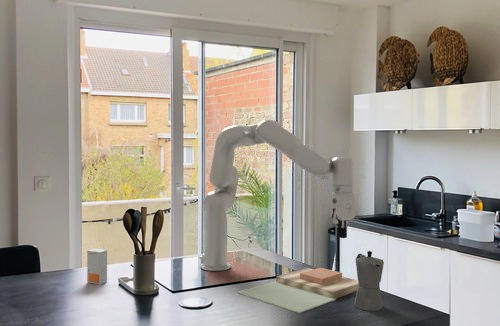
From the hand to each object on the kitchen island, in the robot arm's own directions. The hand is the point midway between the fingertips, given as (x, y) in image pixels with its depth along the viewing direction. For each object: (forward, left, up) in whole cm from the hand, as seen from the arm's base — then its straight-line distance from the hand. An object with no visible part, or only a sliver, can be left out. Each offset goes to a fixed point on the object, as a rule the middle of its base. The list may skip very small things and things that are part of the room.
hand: (342, 237), depth 198 cm
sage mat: (0, -32, -16) cm, 36 cm away
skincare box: (-58, -70, -16) cm, 93 cm away
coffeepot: (+24, -19, -16) cm, 35 cm away
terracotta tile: (0, -12, -14) cm, 18 cm away
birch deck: (0, -13, -16) cm, 21 cm away
